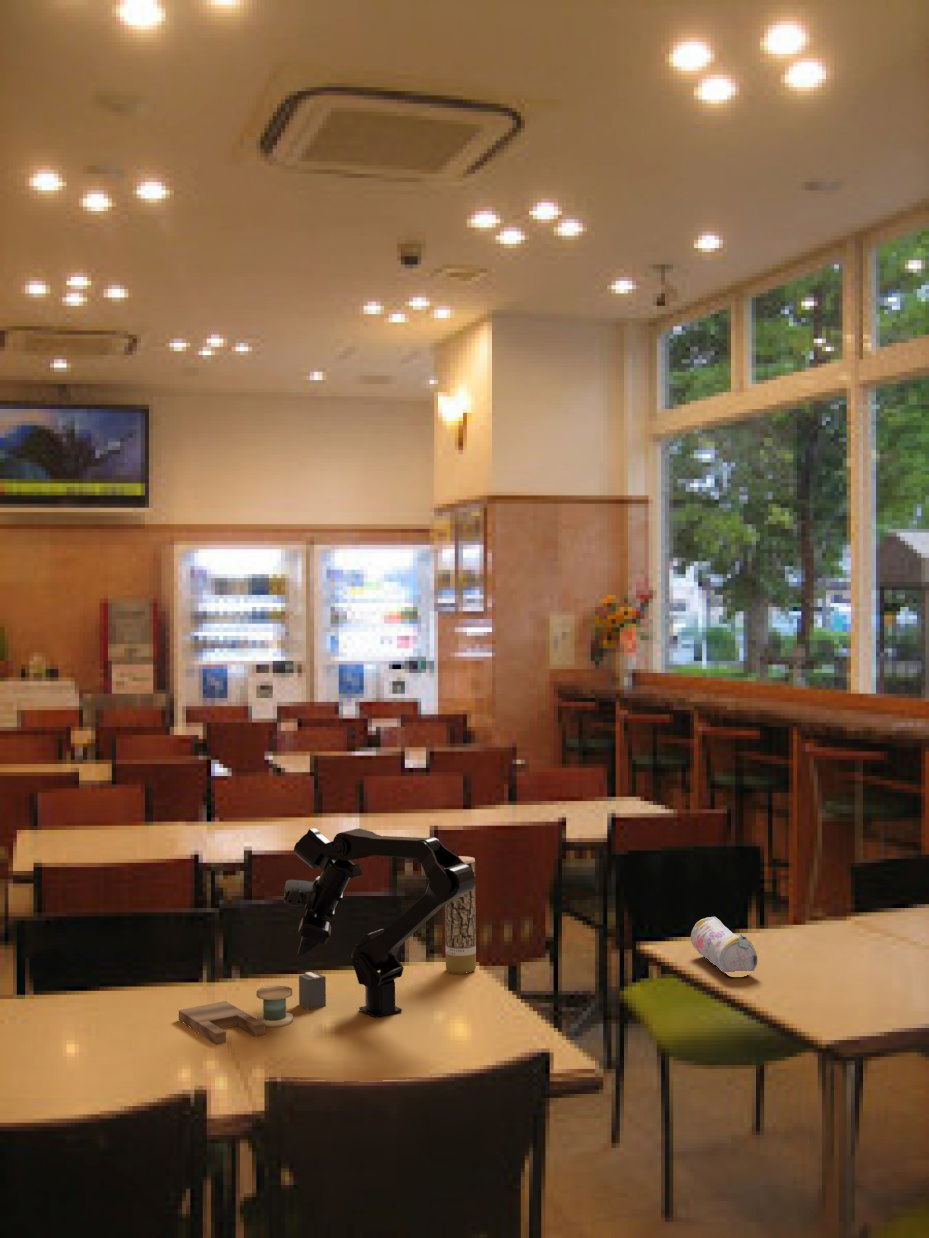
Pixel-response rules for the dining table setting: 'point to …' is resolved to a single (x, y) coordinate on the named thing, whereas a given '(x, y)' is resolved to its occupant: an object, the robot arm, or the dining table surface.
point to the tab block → (312, 990)
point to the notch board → (219, 1020)
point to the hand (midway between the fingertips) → (301, 943)
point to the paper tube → (461, 930)
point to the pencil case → (723, 946)
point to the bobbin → (274, 1005)
